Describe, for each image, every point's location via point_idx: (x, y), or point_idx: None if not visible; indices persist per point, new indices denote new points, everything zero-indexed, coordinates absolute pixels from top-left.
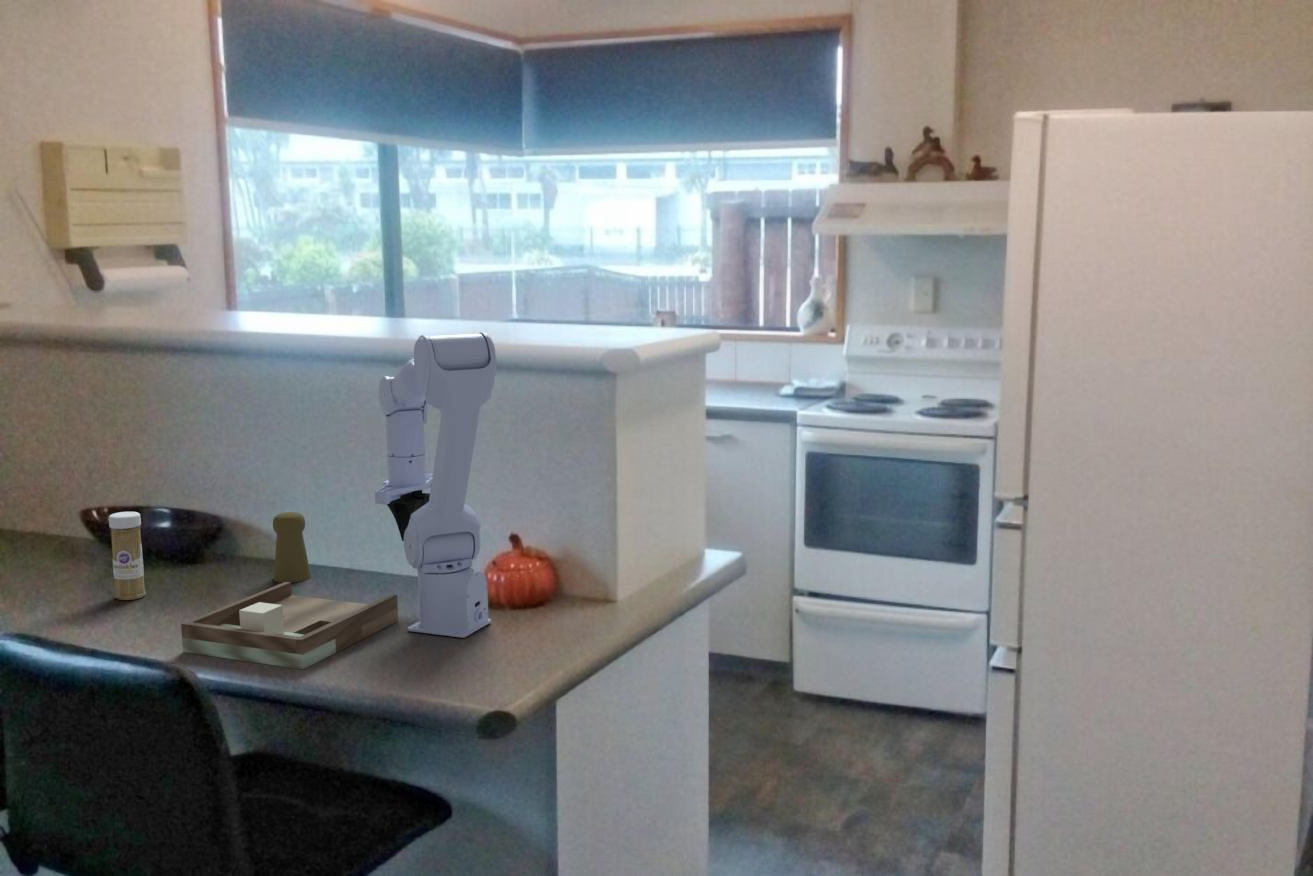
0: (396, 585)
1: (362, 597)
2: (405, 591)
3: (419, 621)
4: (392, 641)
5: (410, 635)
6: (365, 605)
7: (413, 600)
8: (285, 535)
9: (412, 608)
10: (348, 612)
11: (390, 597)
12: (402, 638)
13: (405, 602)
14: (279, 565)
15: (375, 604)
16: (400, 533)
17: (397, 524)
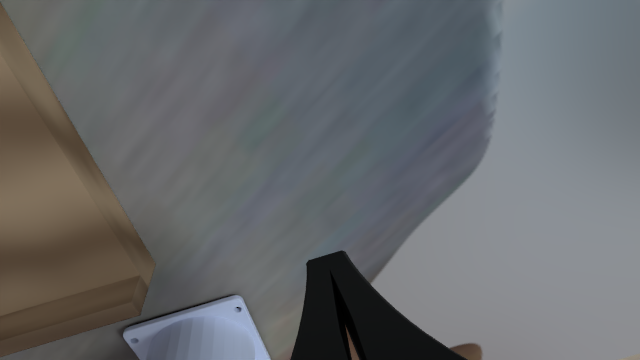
0: (382, 3)
1: (222, 17)
2: (347, 82)
3: (170, 319)
4: (63, 348)
5: (117, 342)
6: (90, 217)
7: (296, 166)
8: None
9: (246, 214)
10: (9, 235)
11: (109, 323)
12: (92, 346)
13: (270, 164)
14: None
15: (38, 342)
16: (306, 286)
17: (301, 321)
